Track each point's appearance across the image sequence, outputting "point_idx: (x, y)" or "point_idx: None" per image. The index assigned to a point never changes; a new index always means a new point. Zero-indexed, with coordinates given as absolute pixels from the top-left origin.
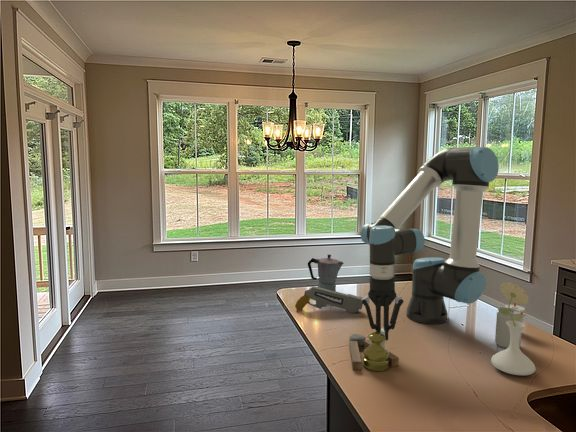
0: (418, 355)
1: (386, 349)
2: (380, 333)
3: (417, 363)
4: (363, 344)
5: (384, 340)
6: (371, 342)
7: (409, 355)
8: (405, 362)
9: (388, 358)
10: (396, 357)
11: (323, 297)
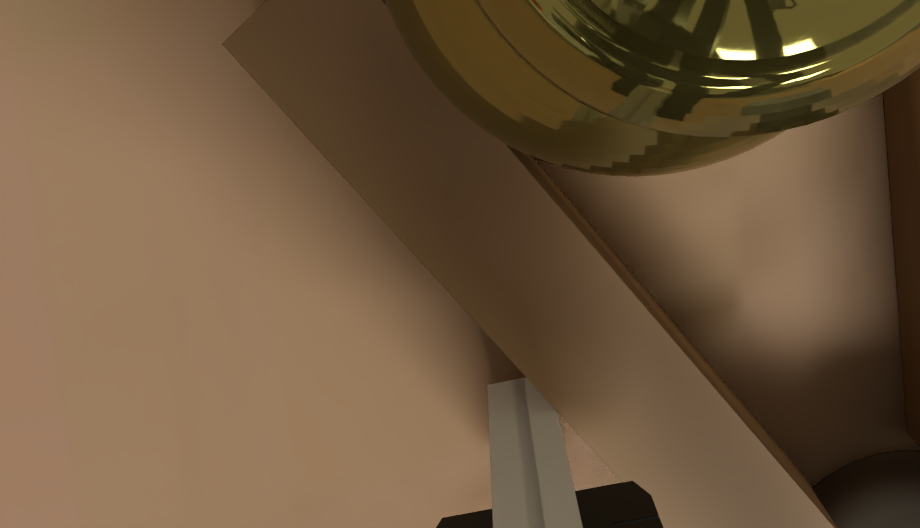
0: (37, 450)
1: (429, 1)
2: (624, 11)
3: (15, 206)
4: None
5: (498, 478)
6: (717, 511)
7: (150, 419)
8: (178, 188)
9: None
10: (261, 40)
11: None
